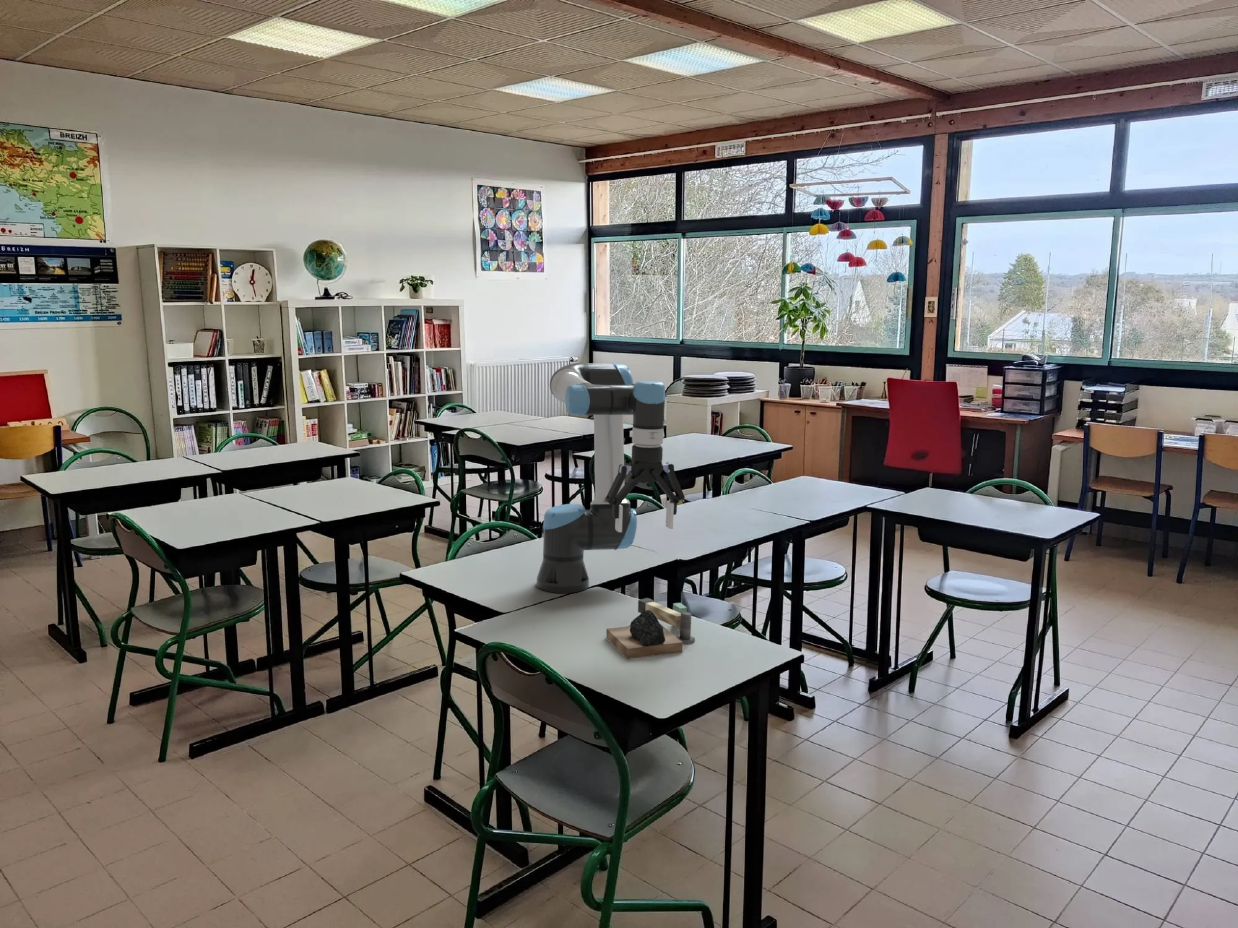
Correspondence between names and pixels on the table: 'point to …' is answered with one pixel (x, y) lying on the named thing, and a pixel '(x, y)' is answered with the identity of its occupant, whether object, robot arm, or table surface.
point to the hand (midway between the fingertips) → (644, 529)
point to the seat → (636, 649)
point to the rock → (647, 629)
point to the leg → (660, 611)
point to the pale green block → (679, 609)
